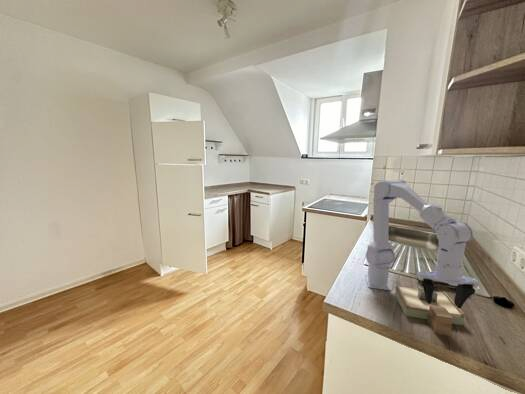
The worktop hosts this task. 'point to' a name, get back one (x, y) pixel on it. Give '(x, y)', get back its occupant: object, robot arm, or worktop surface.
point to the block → (440, 320)
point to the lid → (420, 304)
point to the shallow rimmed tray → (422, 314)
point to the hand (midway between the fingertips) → (442, 303)
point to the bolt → (440, 283)
